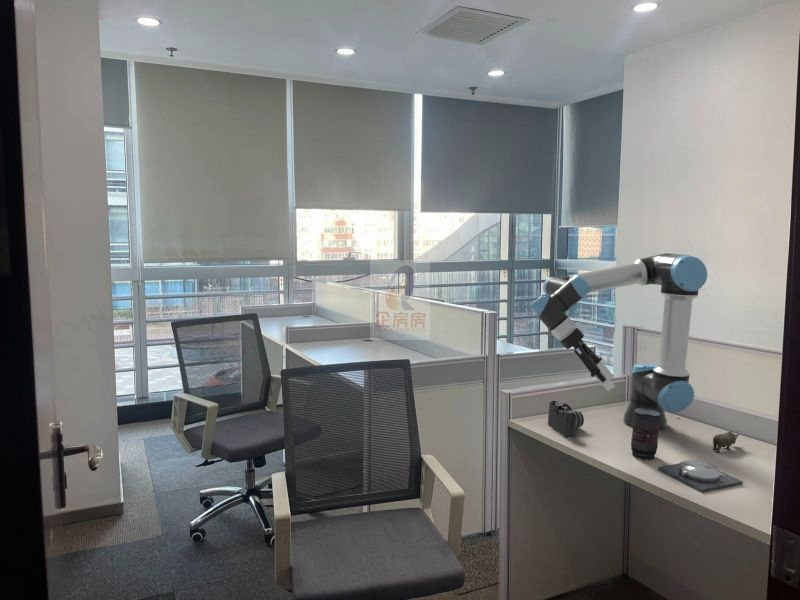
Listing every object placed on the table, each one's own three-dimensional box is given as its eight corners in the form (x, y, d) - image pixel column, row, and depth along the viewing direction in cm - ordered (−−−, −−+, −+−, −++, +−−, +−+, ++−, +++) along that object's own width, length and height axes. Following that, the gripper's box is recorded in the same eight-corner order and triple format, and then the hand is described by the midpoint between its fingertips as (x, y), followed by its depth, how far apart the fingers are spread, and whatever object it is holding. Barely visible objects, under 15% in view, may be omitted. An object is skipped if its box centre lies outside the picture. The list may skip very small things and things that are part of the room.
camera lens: (659, 462, 185) (663, 416, 183) (632, 459, 187) (636, 414, 185) (653, 452, 193) (657, 408, 191) (628, 450, 195) (631, 406, 193)
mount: (696, 463, 185) (697, 454, 185) (742, 484, 170) (743, 474, 170) (657, 470, 179) (658, 460, 179) (702, 492, 164) (703, 482, 164)
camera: (592, 436, 207) (594, 408, 206) (565, 438, 204) (567, 411, 203) (569, 422, 221) (571, 397, 220) (544, 424, 218) (545, 399, 216)
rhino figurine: (742, 447, 200) (744, 430, 199) (720, 455, 193) (722, 437, 192) (730, 443, 203) (732, 426, 203) (708, 450, 196) (710, 433, 195)
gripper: (561, 334, 208) (601, 381, 205) (556, 347, 185) (602, 400, 182) (578, 321, 206) (619, 368, 203) (575, 333, 182) (621, 386, 180)
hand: (611, 383), depth 193 cm, fingers open, 13 cm apart
